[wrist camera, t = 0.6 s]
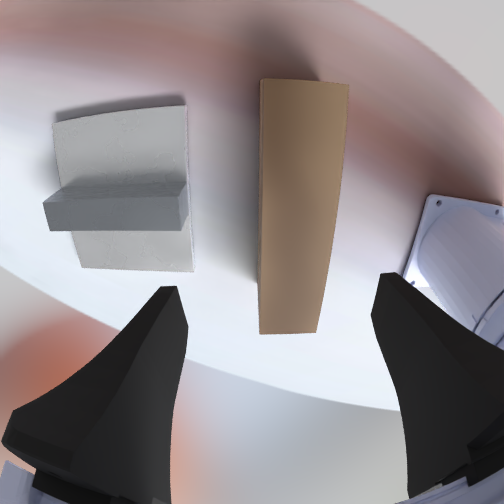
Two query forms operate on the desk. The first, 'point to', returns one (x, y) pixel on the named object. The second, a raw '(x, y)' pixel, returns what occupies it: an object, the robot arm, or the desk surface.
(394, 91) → the desk surface
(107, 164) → the balance stand
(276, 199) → the walnut rod
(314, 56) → the desk surface
